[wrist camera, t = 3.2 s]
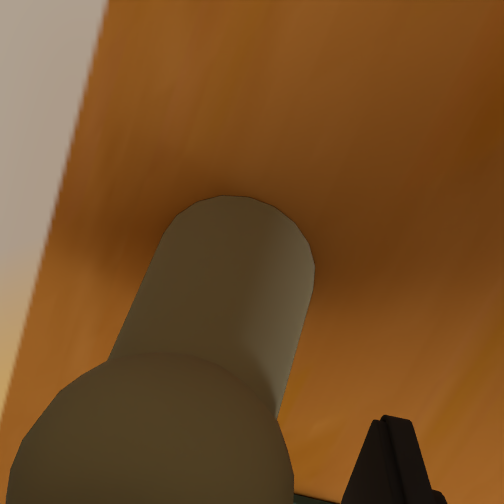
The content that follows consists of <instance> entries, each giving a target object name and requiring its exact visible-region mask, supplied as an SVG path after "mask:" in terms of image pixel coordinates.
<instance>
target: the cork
mask: <svg viewBox="0 0 504 504" xmlns="http://www.w3.org/2000/svg"><path fill="white" fill-rule="evenodd" d="M314 274H315V265H314V261H313V257H312V254H311V250H310V246H309V243H308V242H307V240H306V239H305V237H304V236H303V234H302V233H301V231H300V230H299V228H298V227H297V226H296V224H295V223H294V222H293V221H292V220H290V219H289V218H288V217H287V216H285V215H284V214H283V213H281V212H280V211H279V210H278V209H276V208H275V207H274V206H271V205H268V204H266V203H263V202H260V201H258V200H255V199H252V198H250V197H239V196H223V195H222V196H218V197H214V198H210V199H206V200H202V201H199V202H196V203H195V204H193V205H192V206H190V207H189V208H187V209H186V210H184V211H183V212H181V213H180V214H178V215H177V216H176V217H175V219H174V220H173V221H172V223H171V224H170V225H169V227H168V228H167V229H166V231H165V232H164V233H163V236H162V238H161V240H160V242H159V245H158V247H157V249H156V251H155V254H154V256H153V258H152V260H151V263H150V265H149V267H148V270H147V272H146V274H145V276H144V279H143V281H142V283H141V285H140V288H139V290H138V292H137V294H136V297H135V299H134V301H133V303H132V306H131V308H130V310H129V313H128V315H127V317H126V319H125V322H124V324H123V326H122V328H121V331H120V333H119V335H118V337H117V340H116V342H115V344H114V347H113V349H112V351H111V353H110V356H109V358H108V360H107V361H106V362H104V363H102V364H101V365H99V366H97V367H95V368H93V369H92V370H90V371H88V372H86V373H84V374H83V375H81V376H80V377H78V378H77V379H76V380H74V381H73V382H72V383H70V384H69V385H68V386H66V387H65V388H64V389H62V390H61V391H60V392H59V393H58V394H57V395H56V397H55V398H54V399H53V401H52V402H51V403H50V404H49V406H48V407H47V408H46V410H45V411H44V412H43V413H42V415H41V416H40V417H39V419H38V420H37V421H36V423H35V424H34V425H33V427H32V428H31V429H30V431H29V432H28V433H27V435H26V436H25V437H24V439H23V440H22V442H21V445H20V447H19V450H18V452H17V454H16V457H15V459H14V462H13V464H12V467H11V469H10V476H9V482H8V488H7V495H6V504H293V495H294V474H293V470H292V466H291V462H290V458H289V453H288V450H287V447H286V444H285V441H284V438H283V435H282V432H281V430H280V427H279V424H278V421H277V417H278V413H279V410H280V406H281V403H282V399H283V395H284V392H285V388H286V385H287V381H288V377H289V374H290V370H291V367H292V363H293V360H294V356H295V352H296V349H297V345H298V342H299V338H300V335H301V331H302V327H303V324H304V320H305V317H306V313H307V310H308V306H309V302H310V299H311V295H312V292H313V285H314Z"/></svg>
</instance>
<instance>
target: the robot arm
mask: <svg viewBox="0 0 504 504" xmlns="http://www.w3.org/2000/svg"><path fill="white" fill-rule="evenodd" d="M341 504H447V502H446V499H445V497H444V496H443V495H442V493H441V492H439V491H436V490H432V489H431V485H430V482H429V479H428V475H427V472H426V468H425V465H424V461H423V458H422V455H421V451H420V448H419V444H418V441H417V438H416V434H415V431H414V427H413V425H412V422H411V421H410V420H407V419H402V418H398V417H393V416H388V415H383V416H382V417H381V419H380V421H379V420H373V421H372V423H371V426H370V428H369V431H368V433H367V436H366V439H365V441H364V444H363V446H362V449H361V451H360V454H359V457H358V459H357V462H356V464H355V467H354V469H353V472H352V475H351V477H350V480H349V482H348V485H347V488H346V490H345V493H344V495H343V498H342V502H341Z"/></svg>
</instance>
